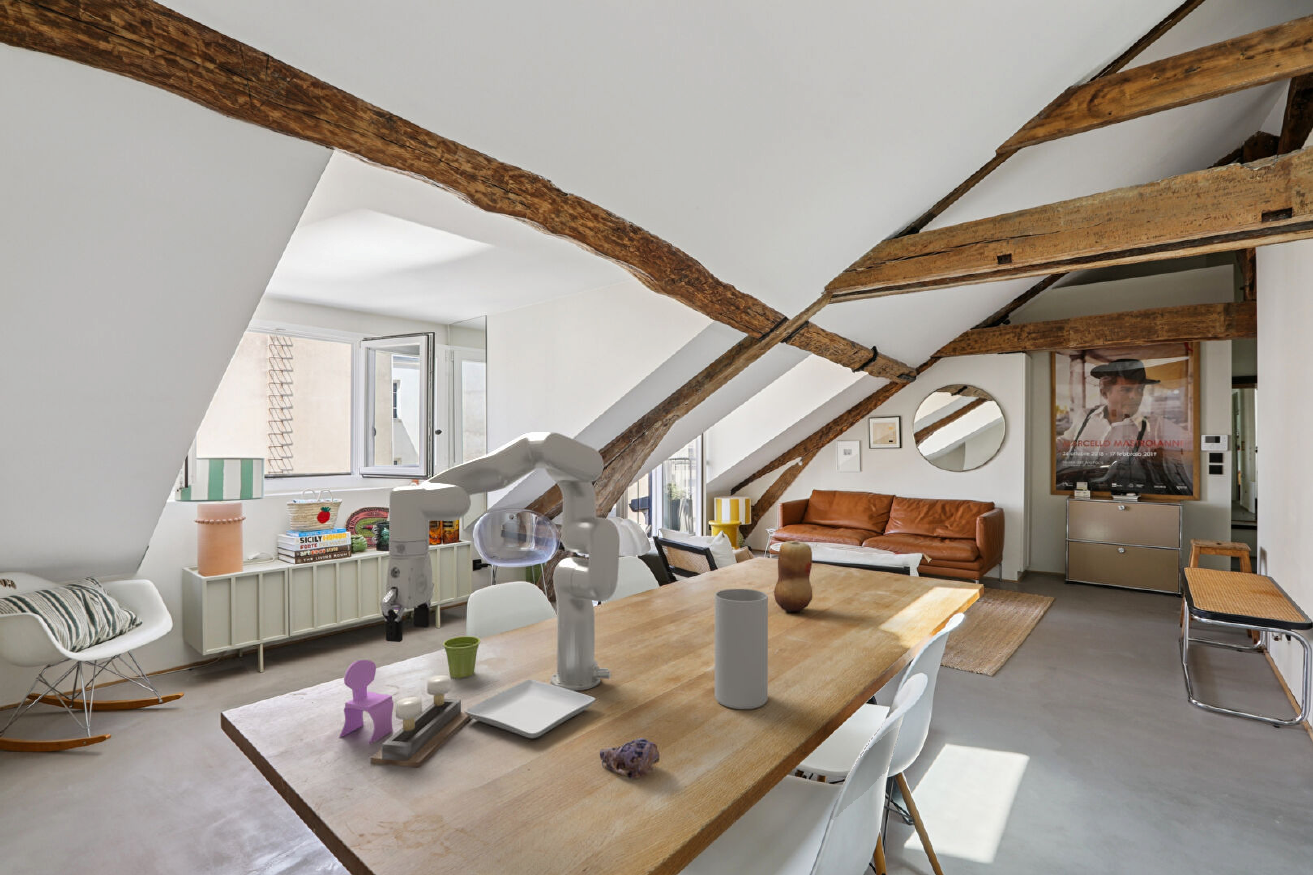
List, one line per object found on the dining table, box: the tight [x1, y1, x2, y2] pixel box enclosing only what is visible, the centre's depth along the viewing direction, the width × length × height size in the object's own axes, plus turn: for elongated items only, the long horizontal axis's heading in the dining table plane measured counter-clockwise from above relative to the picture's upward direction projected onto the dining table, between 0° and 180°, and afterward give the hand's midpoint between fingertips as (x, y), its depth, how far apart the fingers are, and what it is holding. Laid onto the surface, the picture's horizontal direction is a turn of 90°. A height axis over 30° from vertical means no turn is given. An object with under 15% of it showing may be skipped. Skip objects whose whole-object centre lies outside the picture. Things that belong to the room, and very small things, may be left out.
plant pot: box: [442, 635, 481, 680], centre depth 169 cm, size 9×9×9 cm
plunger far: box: [426, 675, 452, 706], centre depth 139 cm, size 5×5×5 cm
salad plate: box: [463, 678, 596, 739], centre depth 144 cm, size 21×21×3 cm
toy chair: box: [339, 659, 394, 744], centre depth 135 cm, size 8×9×15 cm
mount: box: [370, 698, 472, 768], centre depth 133 cm, size 10×22×4 cm, turn 171°
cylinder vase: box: [714, 588, 769, 710], centre depth 153 cm, size 12×12×25 cm
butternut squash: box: [773, 540, 813, 613], centre depth 232 cm, size 14×13×25 cm
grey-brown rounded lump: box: [599, 737, 661, 780], centre depth 121 cm, size 12×8×6 cm, turn 56°
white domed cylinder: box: [395, 696, 423, 731], centre depth 127 cm, size 5×5×5 cm
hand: (408, 633), depth 129 cm, fingers open, 9 cm apart
